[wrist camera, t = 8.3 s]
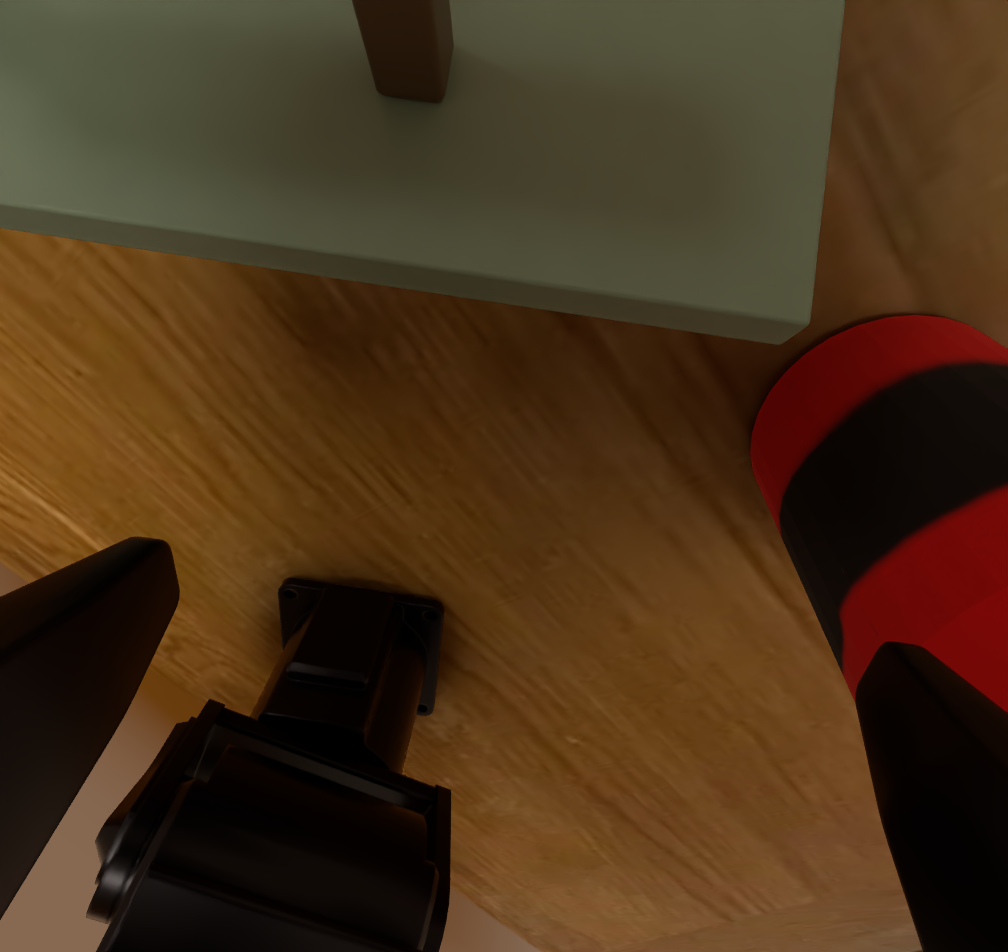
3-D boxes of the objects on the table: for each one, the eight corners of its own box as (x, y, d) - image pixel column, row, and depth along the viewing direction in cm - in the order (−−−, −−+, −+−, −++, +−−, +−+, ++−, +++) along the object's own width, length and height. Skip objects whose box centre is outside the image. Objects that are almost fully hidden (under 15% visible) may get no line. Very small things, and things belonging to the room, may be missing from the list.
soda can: (705, 397, 20) (835, 722, 10) (965, 255, 18) (1504, 507, 7) (804, 560, 23) (983, 941, 13) (1041, 461, 20) (1505, 846, 10)
